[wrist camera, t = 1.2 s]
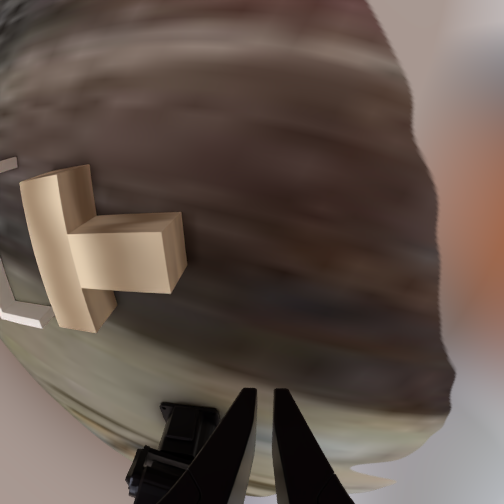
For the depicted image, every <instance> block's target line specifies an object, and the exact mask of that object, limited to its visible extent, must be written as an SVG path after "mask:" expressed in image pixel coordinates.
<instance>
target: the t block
mask: <svg viewBox="0 0 504 504" xmlns="http://www.w3.org/2000/svg"><path fill="white" fill-rule="evenodd" d="M19 183H20V189H21V195H22V201H23V206H24V211H25V216H26V221H27V225H28V230H29V234H30V238H31V242H32V246H33V250H34V253H35V257H36V260H37V264H38V267H39V270H40V274H41V277H42V280H43V283H44V286H45V289H46V292H47V295H48V297H49V300H50V303H51V306H52V308H53V311H54V314H55V316H56V319H57V321H58V324H59V326H60V327H64V328H70V329H75V330H81V331H87V332H93V333H97V332H98V330H99V329H100V328H101V326H102V325H103V324H104V322H105V321H106V319H107V318H108V317H109V315H110V314H111V313H112V311H113V310H114V309H115V307H116V306H117V302H116V299H115V295H114V292H113V290H115V291H130V292H147V293H167V294H171V293H172V291H173V289H174V287H175V286H176V284H177V282H178V280H179V279H180V277H181V275H182V273H183V272H184V270H185V268H186V267H187V258H186V250H185V241H184V232H183V223H182V213H181V212H163V213H138V214H117V215H99V216H97V214H96V208H95V201H94V195H93V188H92V180H91V172H90V164H87V165H81V166H75V167H70V168H65V169H59V170H54V171H50V172H47V173H44V174H41V175H38V176H36V177H33V178H30V179H27V180H24V181H21V182H19Z"/></svg>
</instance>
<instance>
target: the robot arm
mask: <svg viewBox="0 0 504 504" xmlns="http://www.w3.org/2000/svg"><path fill="white" fill-rule="evenodd" d="M160 409H161V412H162V414H163V417H164V419H165V421H166V425H165V428H164V432H163V435H162V438H161V441H160V444H159V448H158V450H156V449H153V448H150V446H147V445H145V446H144V449H137V452H136V455H135V458H134V460H133V463H132V465H131V467H130V469H129V472H128V474H127V476H126V479H125V481H126V482H127V484H128V485H129V487H128V489H129V496H131V497H134V498H135V501H134V504H244V499H245V495H246V490H247V486H248V481H249V477H250V472H251V467H252V462H253V458H254V452H255V439H256V421H257V389H256V388H243V389H242V390H241V392H240V393H239V395H238V396H237V398H236V399H235V401H234V402H233V404H232V405H231V407H230V408H229V410H228V411H227V413H226V414H225V416H224V417H223V419H222V420H221V422H220V418H219V413H218V410H216V409H212V408H201V407H192V406H183V405H175V404H168V403H161V404H160ZM272 457H273V467H274V476H275V485H276V494H277V503H278V504H355V503H354V502H353V500H352V499H351V498H350V497H349V495H348V494H347V492H346V490H345V489H344V487H343V486H342V484H341V483H340V481H339V479H338V477H337V476H336V474H334V471H333V469H332V467H331V466H330V464H329V462H328V460H327V459H326V457H325V455H324V453H323V452H322V450H321V448H320V446H319V444H318V443H317V441H316V439H315V437H314V436H313V434H312V432H311V430H310V428H309V427H308V425H307V423H306V421H305V419H304V417H303V416H302V414H301V412H300V410H299V408H298V406H297V405H296V403H295V401H294V399H293V397H292V395H291V394H290V392H289V390H288V389H286V388H276V389H275V390H274V401H273V431H272Z"/></svg>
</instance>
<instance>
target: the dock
mask: <svg viewBox="0 0 504 504" xmlns="http://www.w3.org/2000/svg"><path fill="white" fill-rule="evenodd" d="M17 167H18V166H17V157H13V158H9V159H6V160H2V161H0V173H2V172H5V171H8V170H11V169H14V168H17ZM54 316H55V314H54V311H53V308H52V306H45V305H39V304H32V303H26V302H21V301H15V298H14V296H13V293H12V290H11V288H10V285H9V282H8V279H7V276H6V273H5V270H4V267H3V264H2V261H1V258H0V317H1V319H5V320H8V321H12V322H16V323H20V324H24V325H28V326H33V327H37V328H41V329H43V328H44V326H45V325H46V324H47V323H48V322H49V321H50V320H51V319H52V318H53V317H54Z"/></svg>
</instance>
